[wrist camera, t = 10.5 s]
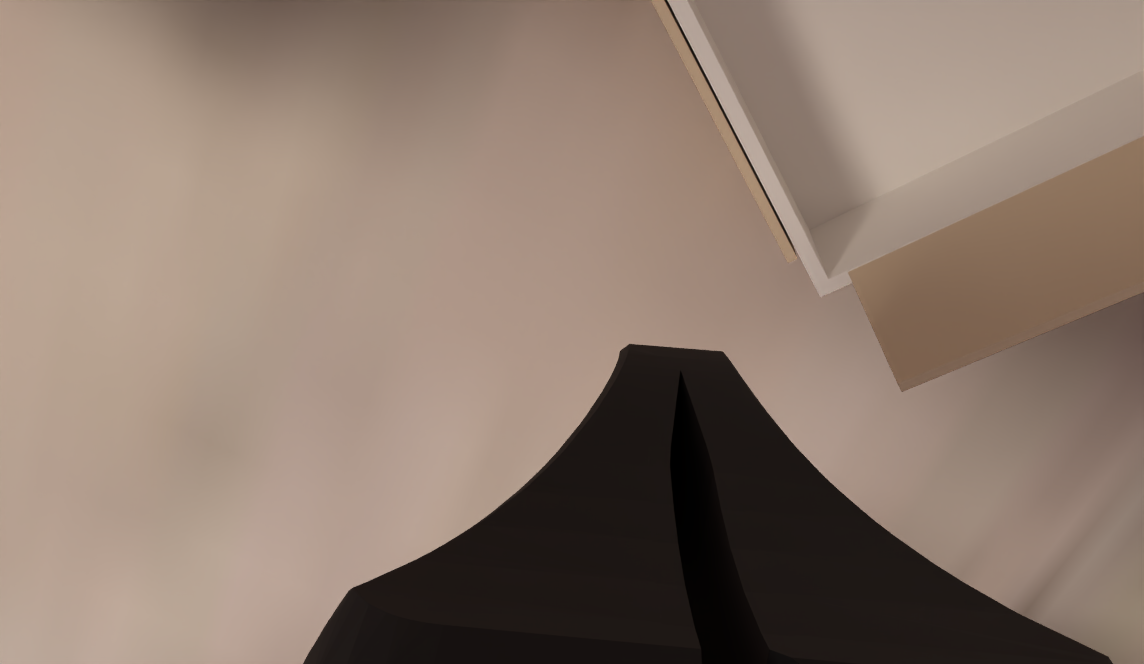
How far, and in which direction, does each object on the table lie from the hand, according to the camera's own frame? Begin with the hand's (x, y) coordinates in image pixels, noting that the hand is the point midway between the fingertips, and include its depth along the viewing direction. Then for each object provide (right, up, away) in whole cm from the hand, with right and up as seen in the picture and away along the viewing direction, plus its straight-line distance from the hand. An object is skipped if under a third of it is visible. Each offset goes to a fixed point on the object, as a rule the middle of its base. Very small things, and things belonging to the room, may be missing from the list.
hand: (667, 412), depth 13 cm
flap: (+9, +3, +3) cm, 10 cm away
